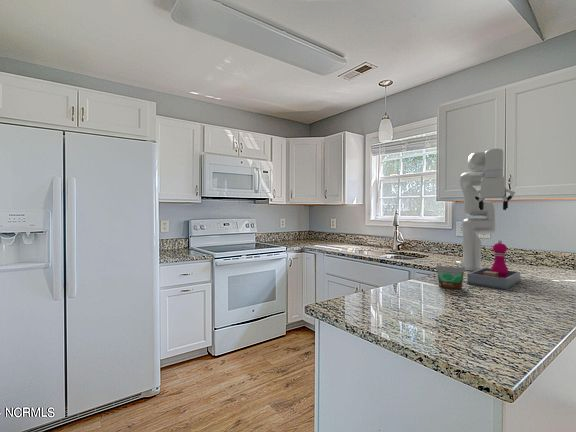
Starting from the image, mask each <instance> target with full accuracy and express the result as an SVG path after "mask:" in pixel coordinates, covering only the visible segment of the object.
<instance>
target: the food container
mask: <svg viewBox="0 0 576 432" xmlns="http://www.w3.org/2000/svg"><path fill="white" fill-rule="evenodd" d="M435 266H436V267H435V270H436V271H437V281H438V287H440V288H442V289H445V290H453V291H454V290H458V291H459V290H462V287H463V280H464V273H465V272H466V271H467V270H465V268H464V267H462V268H460V267H454V266H443V265H439V264H436V265H435Z"/></svg>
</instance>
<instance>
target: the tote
mask: <svg viewBox="0 0 576 432" xmlns="http://www.w3.org/2000/svg"><path fill="white" fill-rule="evenodd" d="M481 268H482V269H479V270H476V271H470V272H469V273H467V282H466V283H467V285H471V286H473V285H474V286H477V287H484V288H491V289H497V290H503V291H504V290H505V291H508V290H510V289H511V288H512V287H514V286H516V285H517V284H519V283H521V272H520V271H516V270H514V271H513V270H508V274H507V275H506V277H507V278H498V277H491V276H484V275H483V272H485V271H491V268H492V267H481Z"/></svg>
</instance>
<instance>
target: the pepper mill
mask: <svg viewBox="0 0 576 432" xmlns="http://www.w3.org/2000/svg"><path fill="white" fill-rule="evenodd" d="M507 250H508V247H507V245H506V244H505V243H503V241H502V240H501V239H500V240H498V241H497V243H494V244H493V246H492V251H494V252H493V256H494V262H493V264H492V266H491V267H490V268H491V272H498V278H507V277H506V275H507V274H508V271H509V268H508V266H507V264H506V262H505V258H506V252H507Z"/></svg>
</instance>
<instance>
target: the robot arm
mask: <svg viewBox="0 0 576 432" xmlns="http://www.w3.org/2000/svg"><path fill="white" fill-rule="evenodd" d="M467 166H468V169H469V170H470V171H471V172H470V171H469V172H468V171H467V172H463V173H462V174H461V175H460V176H459V186H460V189H461V191H462V193H463V211H464V215H465V216H467V217H469V218H465V219H463V220H462V222H461V229H462V239H463V240H462V260H461V261H459V260H458V261H457V260H456V261H455V264H456V265H460V266H459V268H462V267H464V268H465V271H470V272H473V271H476V270H479V269H482V268H483V267H482V266H481V265H482V263H481V262H482V261H481V259H482V258H481V257H482V241H481V238H480V237H479V236H478V235H492V234H494V233H495V231H496V213H495V212H496V210H495V205H494V203H493V202H492V201H489V200H485V199H500V198H501V199H502V200H503V201H502V210H503V211H507V209H508V208H509V201H511V199H513V197H514V196H515V194H516V192H515V191H513V190H511V189H508V188H507V183H506V177H505V176H504V150H503V149H502V148H490V149H486V151H483V152H481V151H479V152H472V153H471V154H469V156H468V158H467ZM474 186H475V187H479V186H480V188H479V190H477V189H476V188H475V187H474ZM507 193H509V196H507ZM476 217H477V218H476ZM478 217H484V218H478Z"/></svg>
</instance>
